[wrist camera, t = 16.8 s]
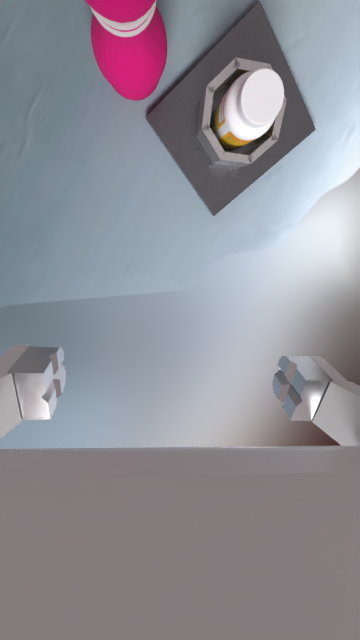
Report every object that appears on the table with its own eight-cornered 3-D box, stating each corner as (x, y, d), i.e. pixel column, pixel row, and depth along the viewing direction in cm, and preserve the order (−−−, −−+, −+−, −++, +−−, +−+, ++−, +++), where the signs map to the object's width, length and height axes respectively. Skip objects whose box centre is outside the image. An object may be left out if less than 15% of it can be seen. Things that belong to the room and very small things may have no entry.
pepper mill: (99, 13, 27) (-3, -334, 9) (168, 28, 28) (195, -260, 10) (100, 100, 30) (25, -36, 12) (162, 111, 31) (175, 0, 13)
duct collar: (212, 215, 37) (220, 218, 32) (145, 119, 31) (144, 107, 27) (311, 131, 34) (335, 121, 29) (256, 7, 28) (275, -29, 24)
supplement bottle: (261, 131, 32) (301, 108, 24) (224, 159, 33) (250, 147, 24) (241, 84, 30) (277, 39, 21) (202, 115, 31) (222, 85, 22)
